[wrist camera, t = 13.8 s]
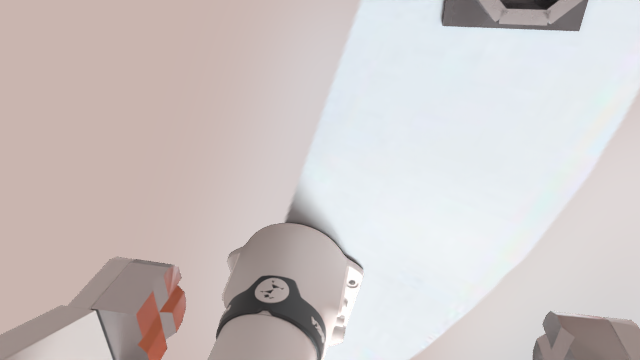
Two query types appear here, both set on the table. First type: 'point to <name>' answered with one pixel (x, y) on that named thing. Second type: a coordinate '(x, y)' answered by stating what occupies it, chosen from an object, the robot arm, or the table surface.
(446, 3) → the duct collar
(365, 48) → the table surface
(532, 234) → the table surface
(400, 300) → the table surface
